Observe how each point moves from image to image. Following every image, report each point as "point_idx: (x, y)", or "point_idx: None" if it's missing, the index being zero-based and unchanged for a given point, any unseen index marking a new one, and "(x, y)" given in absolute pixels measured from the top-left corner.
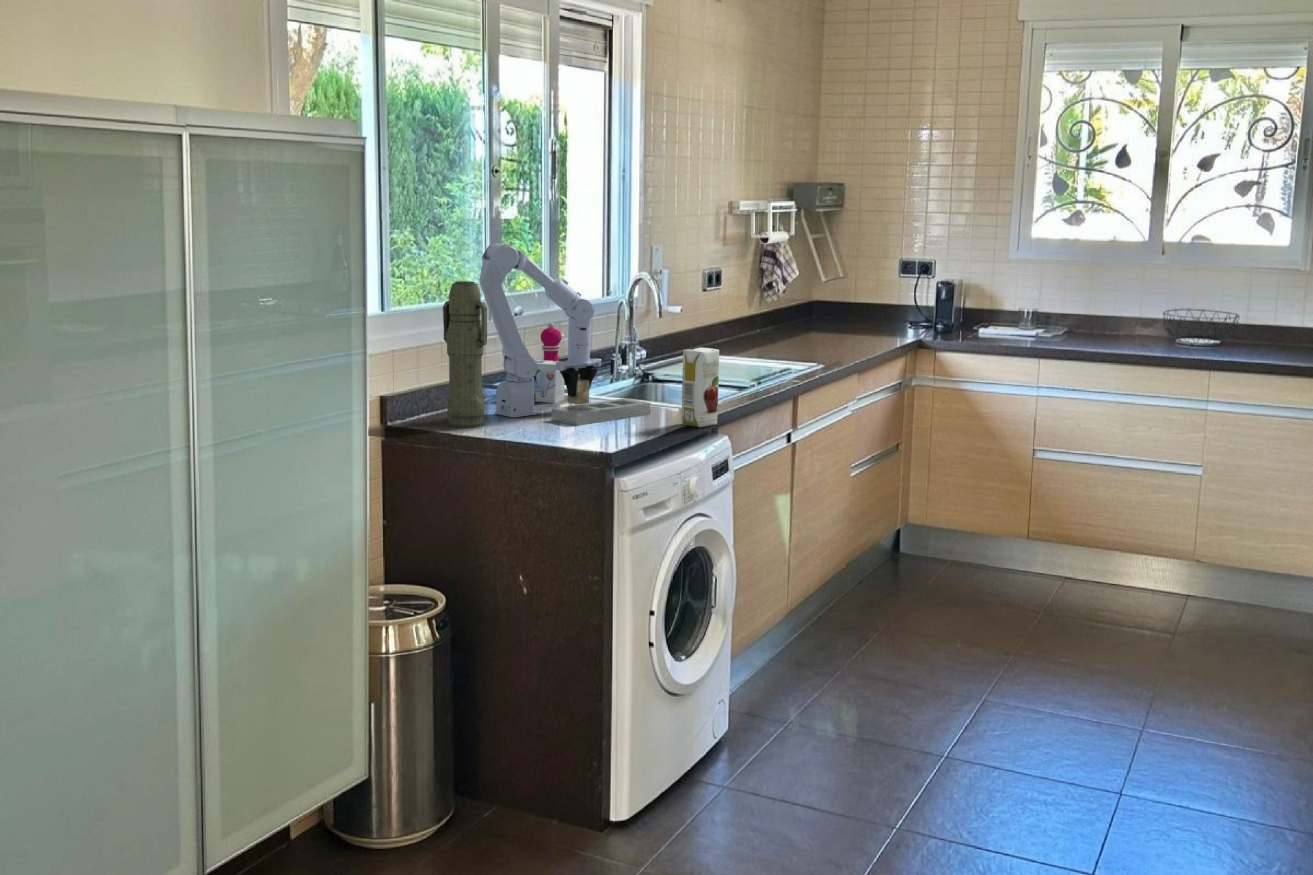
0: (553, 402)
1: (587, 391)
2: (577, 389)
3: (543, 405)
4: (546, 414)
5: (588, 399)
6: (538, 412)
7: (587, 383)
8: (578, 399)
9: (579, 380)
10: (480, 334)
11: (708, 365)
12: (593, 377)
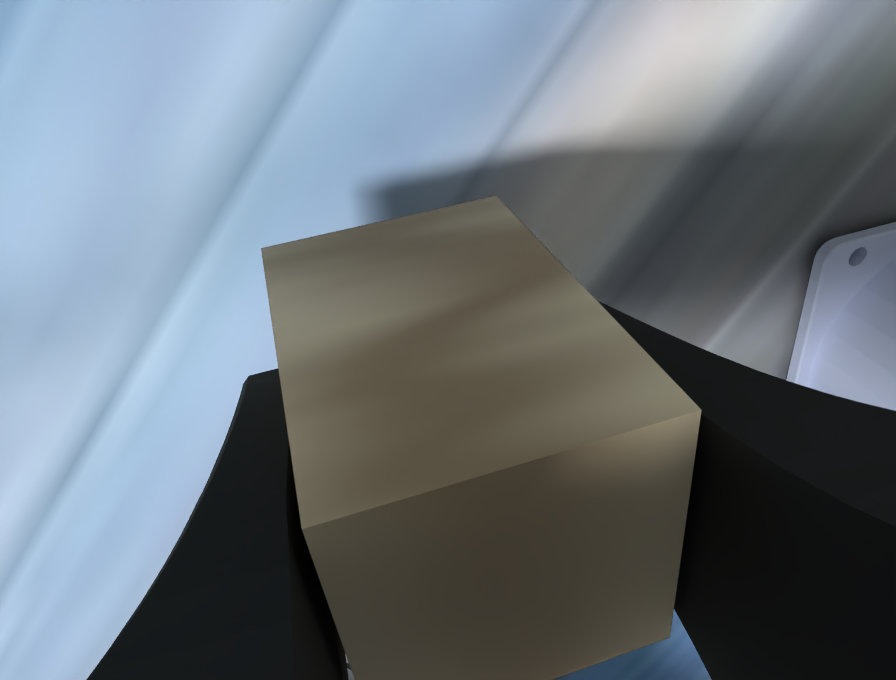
0: (349, 673)
1: (324, 344)
2: (603, 326)
3: None
4: (782, 219)
5: (277, 274)
6: (865, 240)
7: (361, 453)
8: (511, 231)
9: (519, 576)
10: None
11: None
12: (115, 660)
